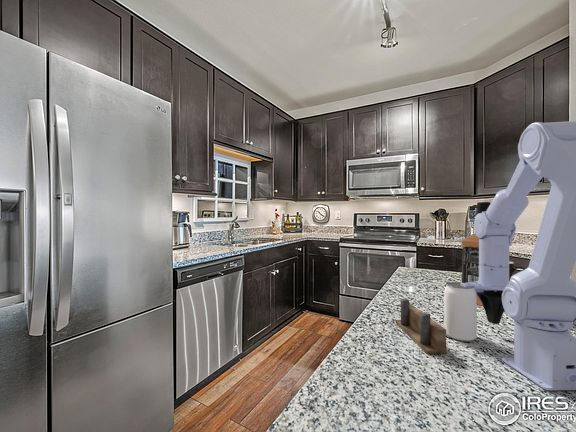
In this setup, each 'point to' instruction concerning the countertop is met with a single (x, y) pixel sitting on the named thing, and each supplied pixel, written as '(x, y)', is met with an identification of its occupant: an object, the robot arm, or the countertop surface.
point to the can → (460, 312)
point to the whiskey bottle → (472, 253)
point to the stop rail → (422, 329)
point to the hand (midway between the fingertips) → (493, 322)
